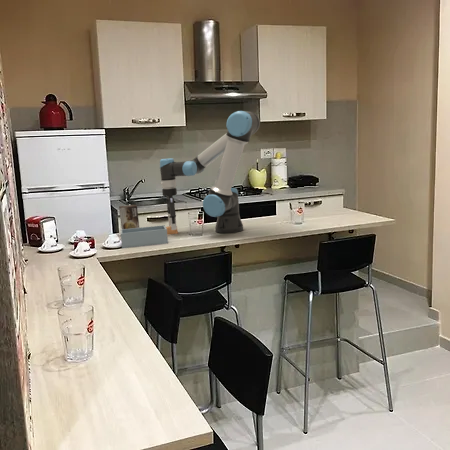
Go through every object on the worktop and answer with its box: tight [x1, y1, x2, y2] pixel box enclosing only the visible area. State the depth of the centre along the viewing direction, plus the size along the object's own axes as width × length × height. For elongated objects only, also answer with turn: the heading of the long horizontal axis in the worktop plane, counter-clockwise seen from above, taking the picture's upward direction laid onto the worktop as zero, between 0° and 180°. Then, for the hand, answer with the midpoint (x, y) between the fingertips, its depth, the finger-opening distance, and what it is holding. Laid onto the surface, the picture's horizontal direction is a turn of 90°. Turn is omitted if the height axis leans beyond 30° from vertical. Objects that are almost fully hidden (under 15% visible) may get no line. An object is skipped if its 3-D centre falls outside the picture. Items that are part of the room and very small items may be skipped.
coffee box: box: [118, 204, 140, 229], centre depth 286 cm, size 9×6×16 cm
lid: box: [165, 225, 179, 236], centre depth 275 cm, size 30×13×4 cm, turn 101°
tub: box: [120, 225, 169, 249], centre depth 256 cm, size 22×12×8 cm, turn 101°
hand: (172, 227), depth 277 cm, fingers open, 13 cm apart
